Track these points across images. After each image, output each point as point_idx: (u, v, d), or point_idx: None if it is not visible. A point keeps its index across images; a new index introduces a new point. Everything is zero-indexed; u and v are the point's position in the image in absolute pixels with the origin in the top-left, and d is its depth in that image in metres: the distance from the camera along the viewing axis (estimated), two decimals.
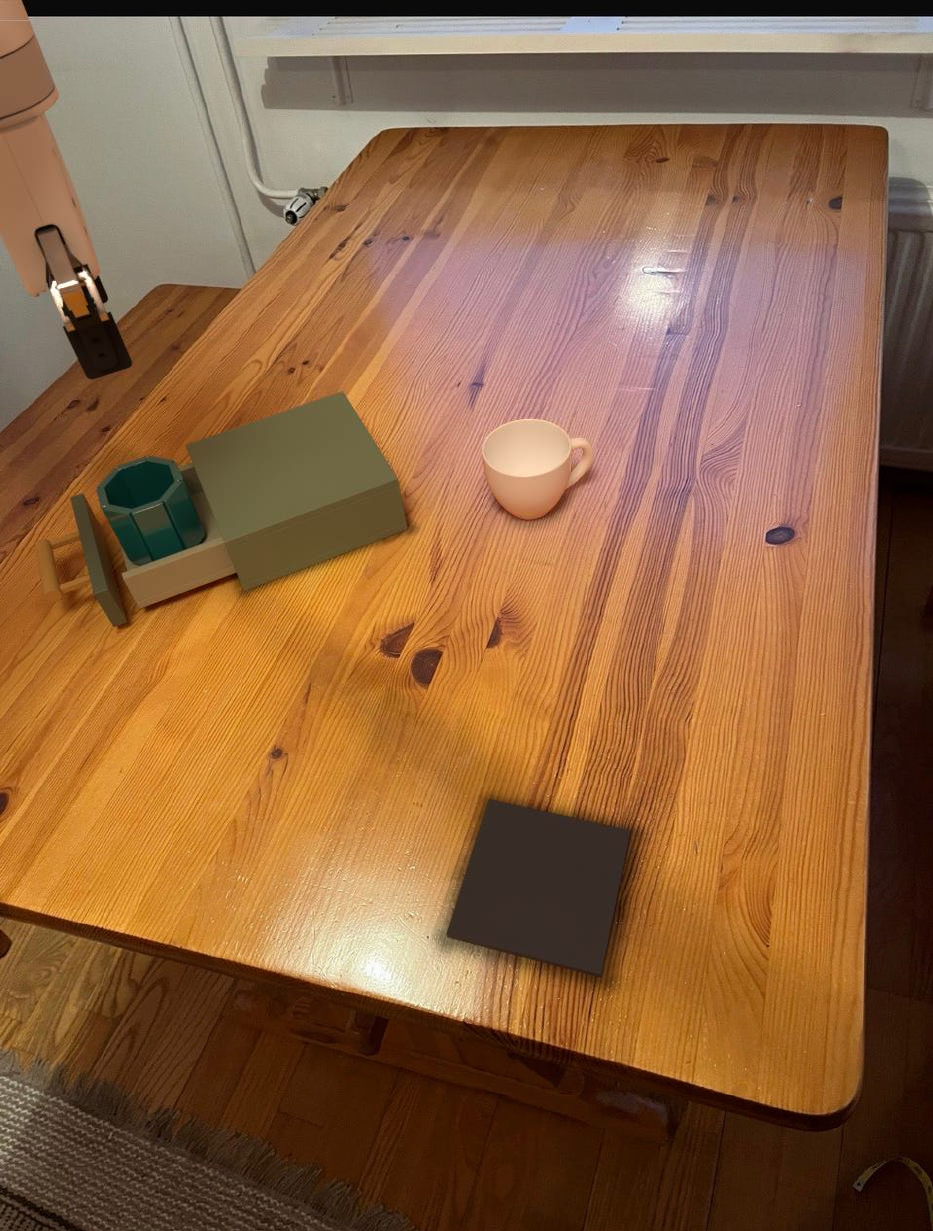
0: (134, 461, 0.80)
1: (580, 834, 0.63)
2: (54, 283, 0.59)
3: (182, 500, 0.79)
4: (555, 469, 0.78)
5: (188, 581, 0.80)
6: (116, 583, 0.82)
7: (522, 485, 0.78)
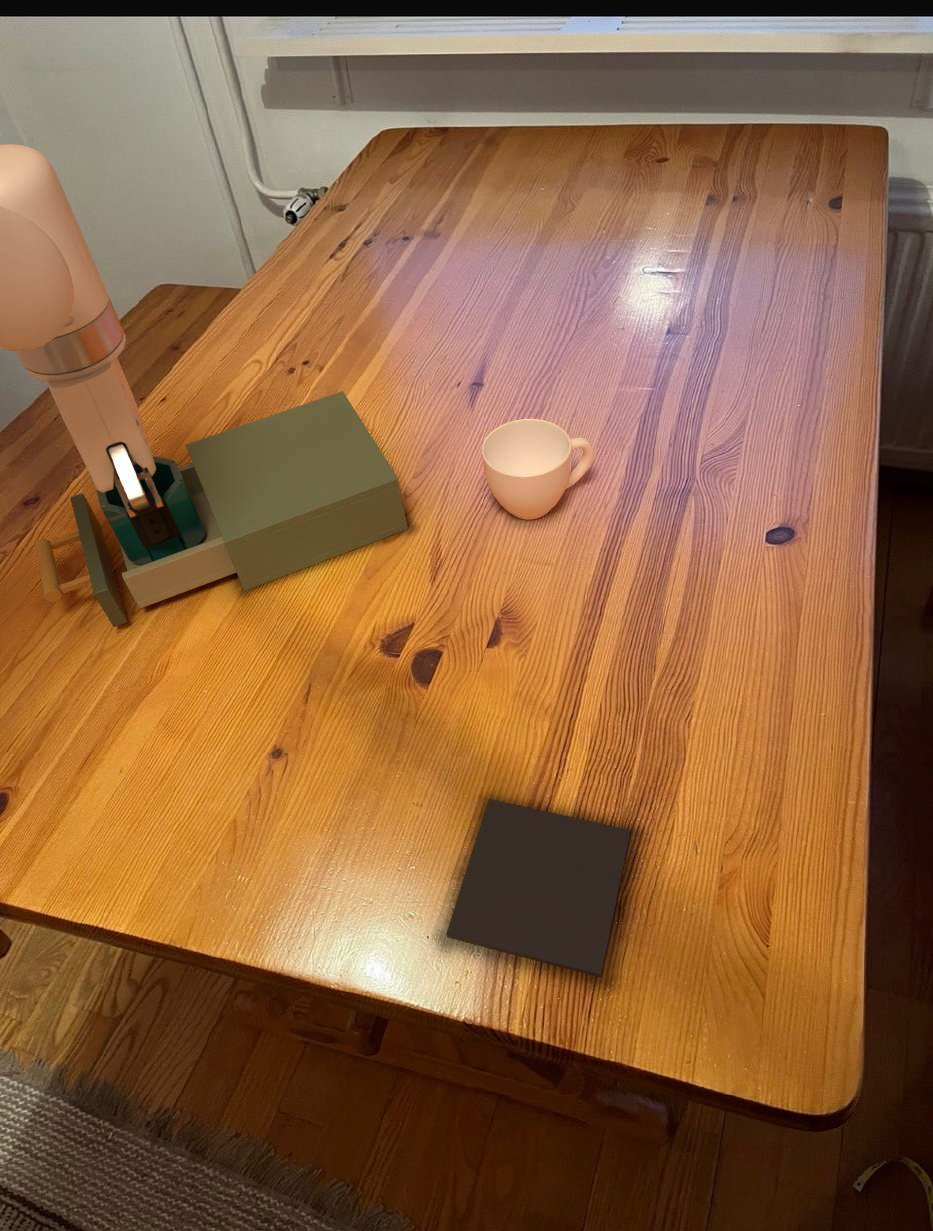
0: None
1: (580, 834, 0.63)
2: (120, 482, 0.73)
3: (182, 500, 0.79)
4: (555, 469, 0.78)
5: (189, 581, 0.80)
6: (116, 583, 0.82)
7: (522, 485, 0.78)
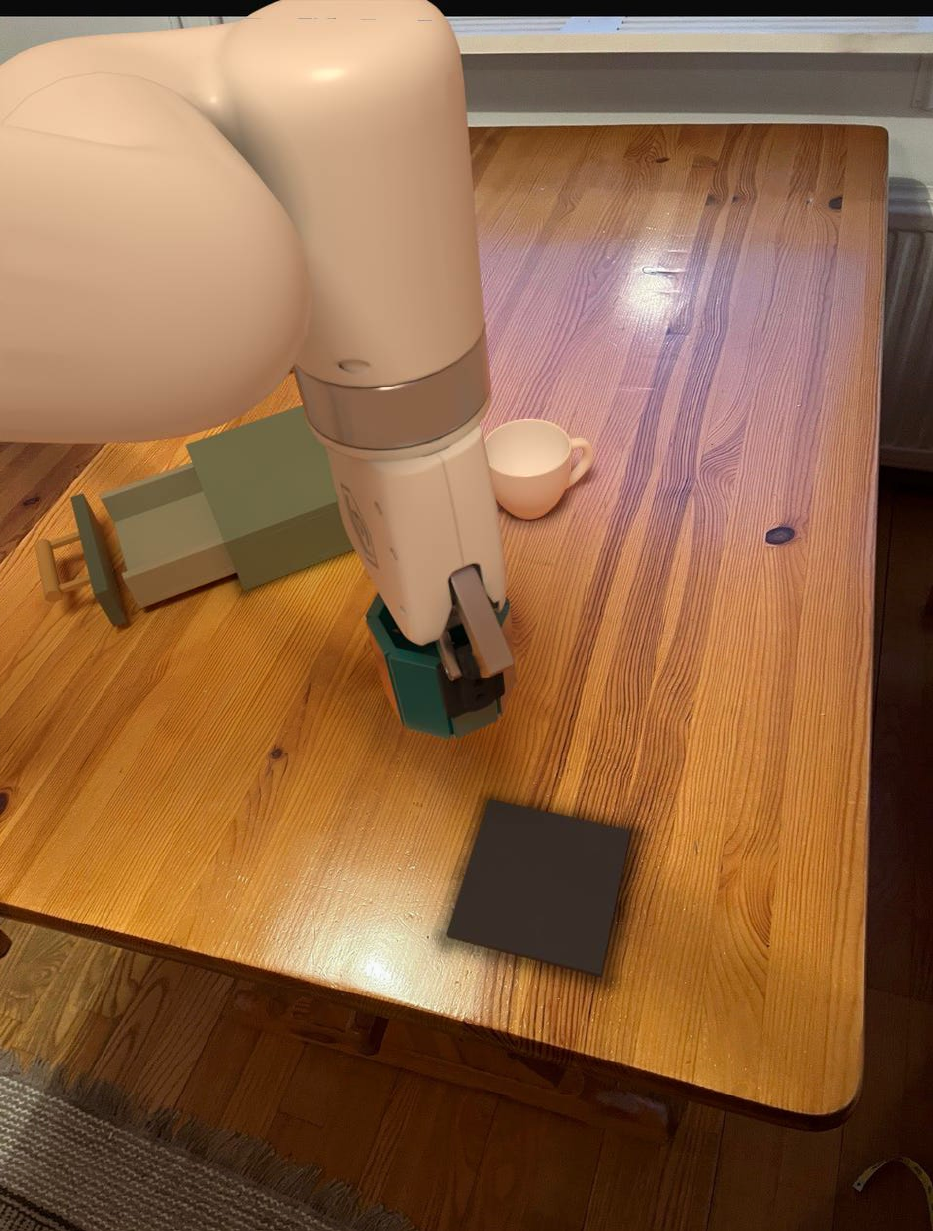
0: None
1: (580, 834, 0.63)
2: None
3: (507, 635, 0.48)
4: (555, 469, 0.78)
5: (188, 581, 0.80)
6: (116, 583, 0.82)
7: (522, 485, 0.78)
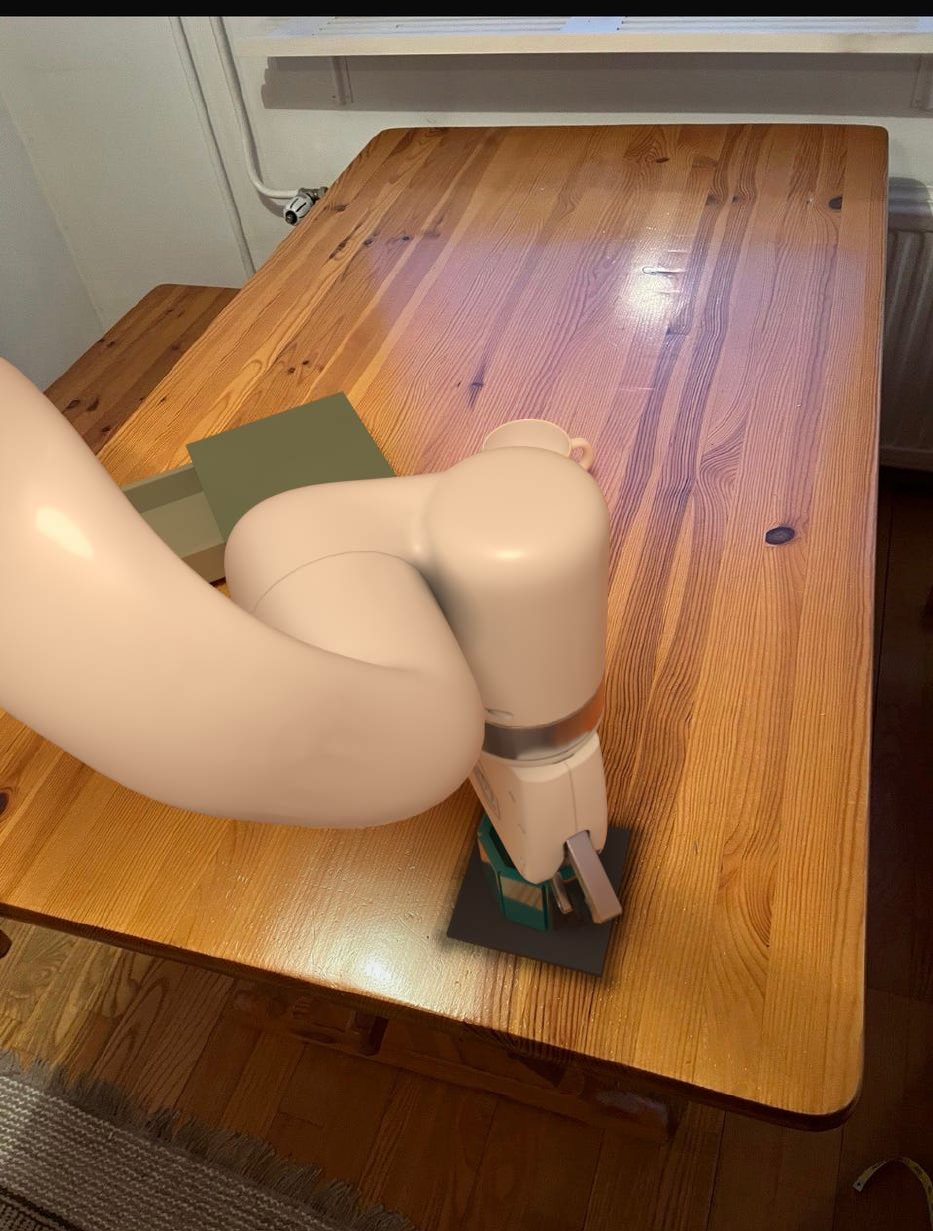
0: None
1: None
2: None
3: None
4: None
5: None
6: None
7: None
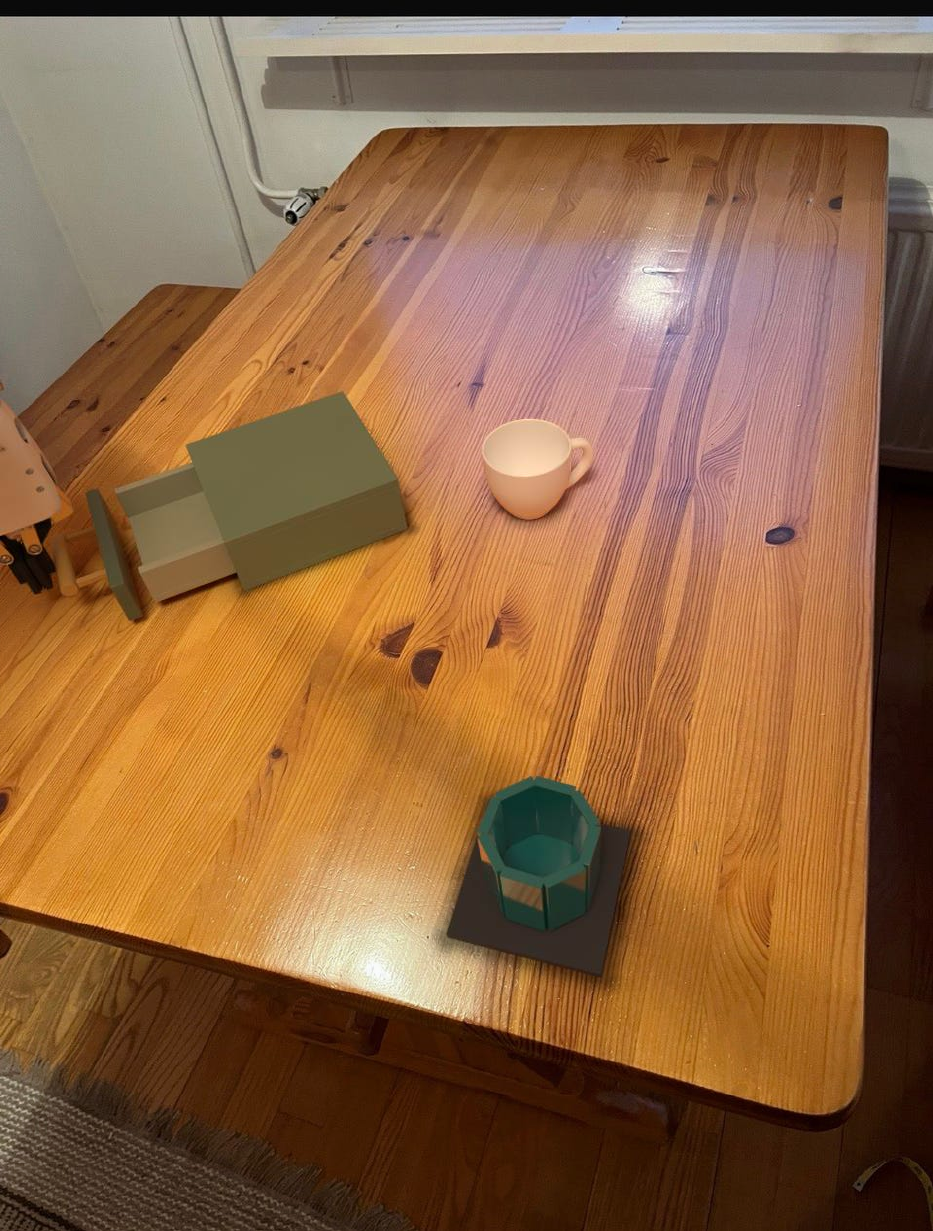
0: (519, 786, 0.58)
1: None
2: None
3: (597, 850, 0.56)
4: (555, 469, 0.78)
5: (204, 575, 0.80)
6: (131, 577, 0.82)
7: (522, 485, 0.78)
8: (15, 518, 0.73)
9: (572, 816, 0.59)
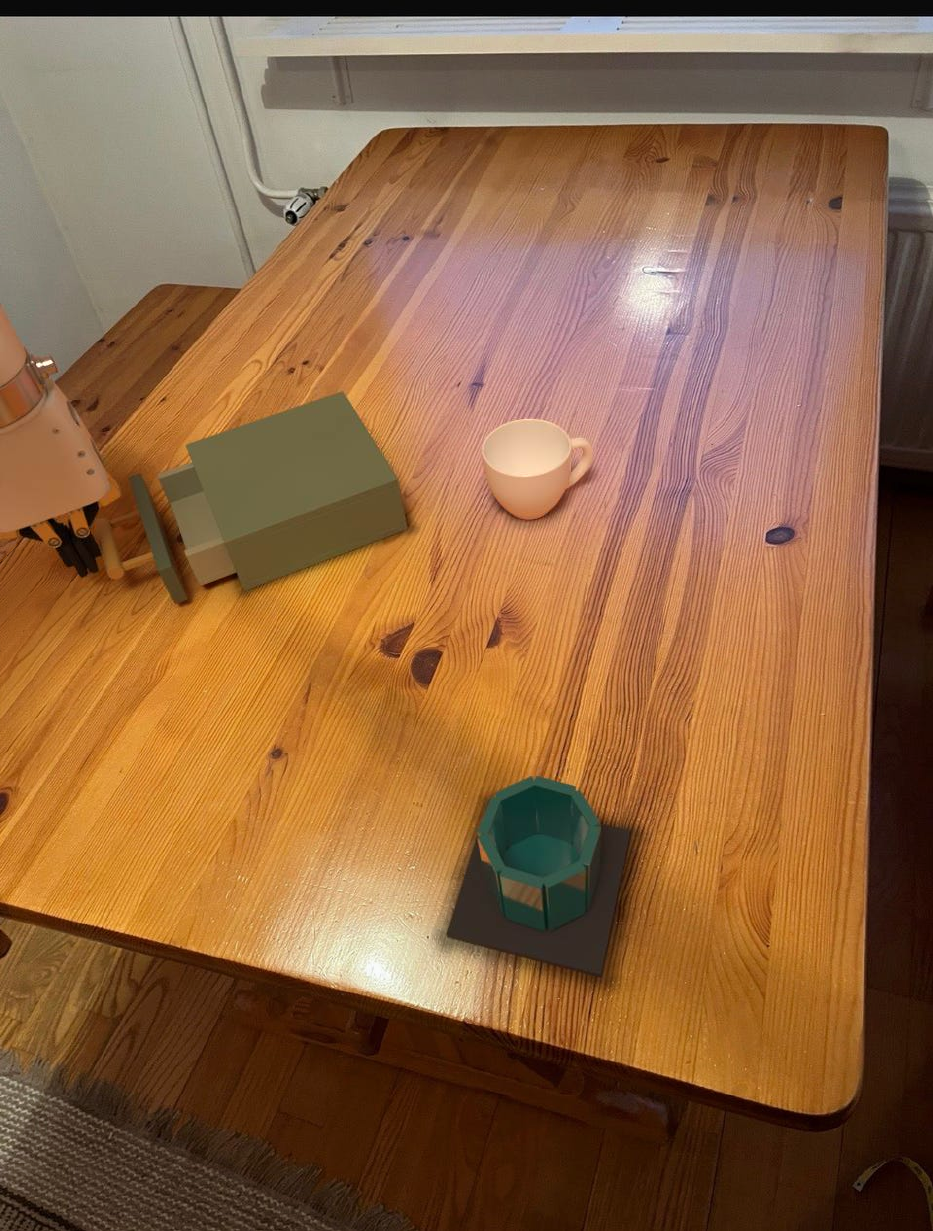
0: (519, 786, 0.58)
1: None
2: None
3: (597, 850, 0.56)
4: (555, 469, 0.78)
5: None
6: None
7: (522, 485, 0.78)
8: (65, 501, 0.74)
9: (572, 816, 0.59)
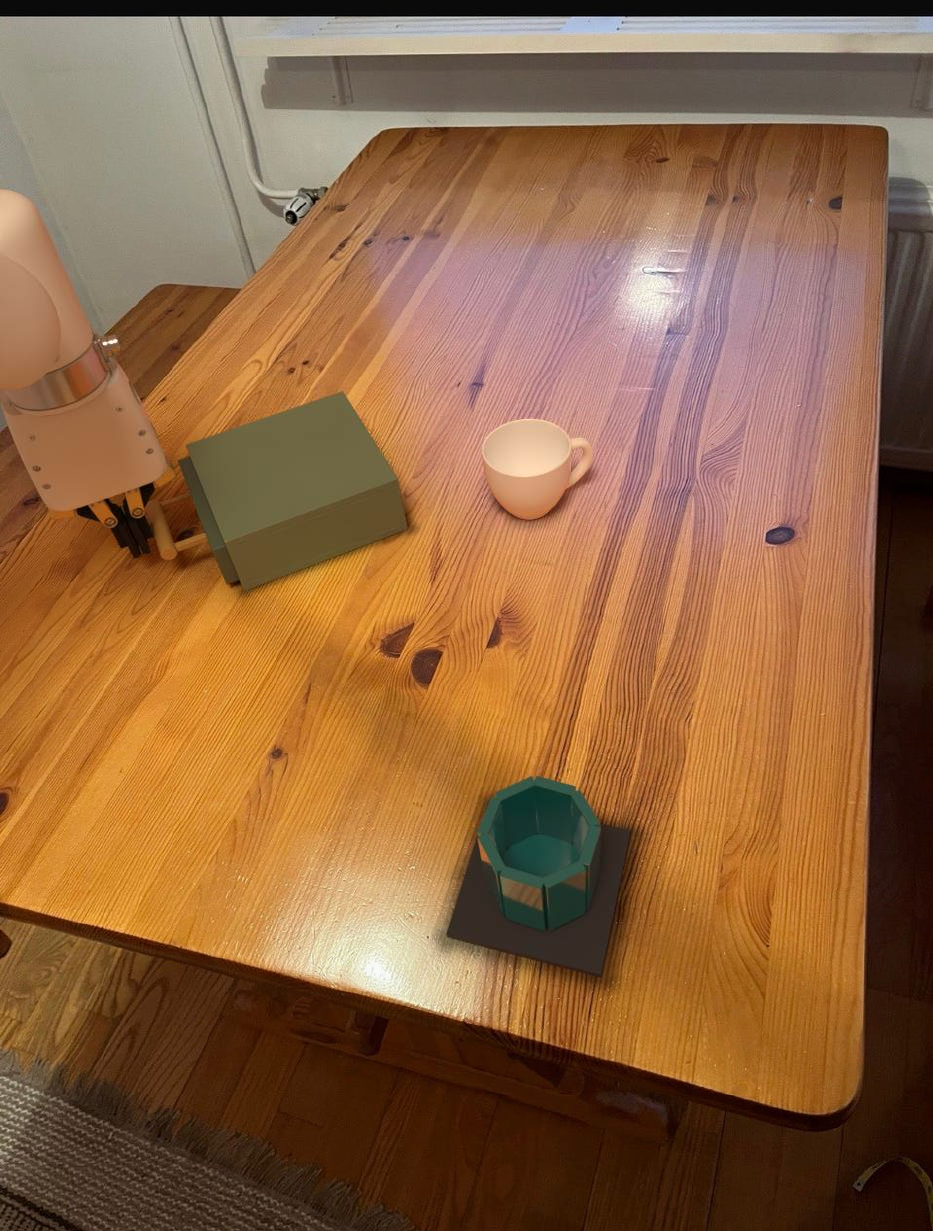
0: (519, 786, 0.58)
1: None
2: None
3: (597, 850, 0.56)
4: (555, 469, 0.78)
5: None
6: None
7: (522, 485, 0.78)
8: (124, 480, 0.75)
9: (572, 816, 0.59)
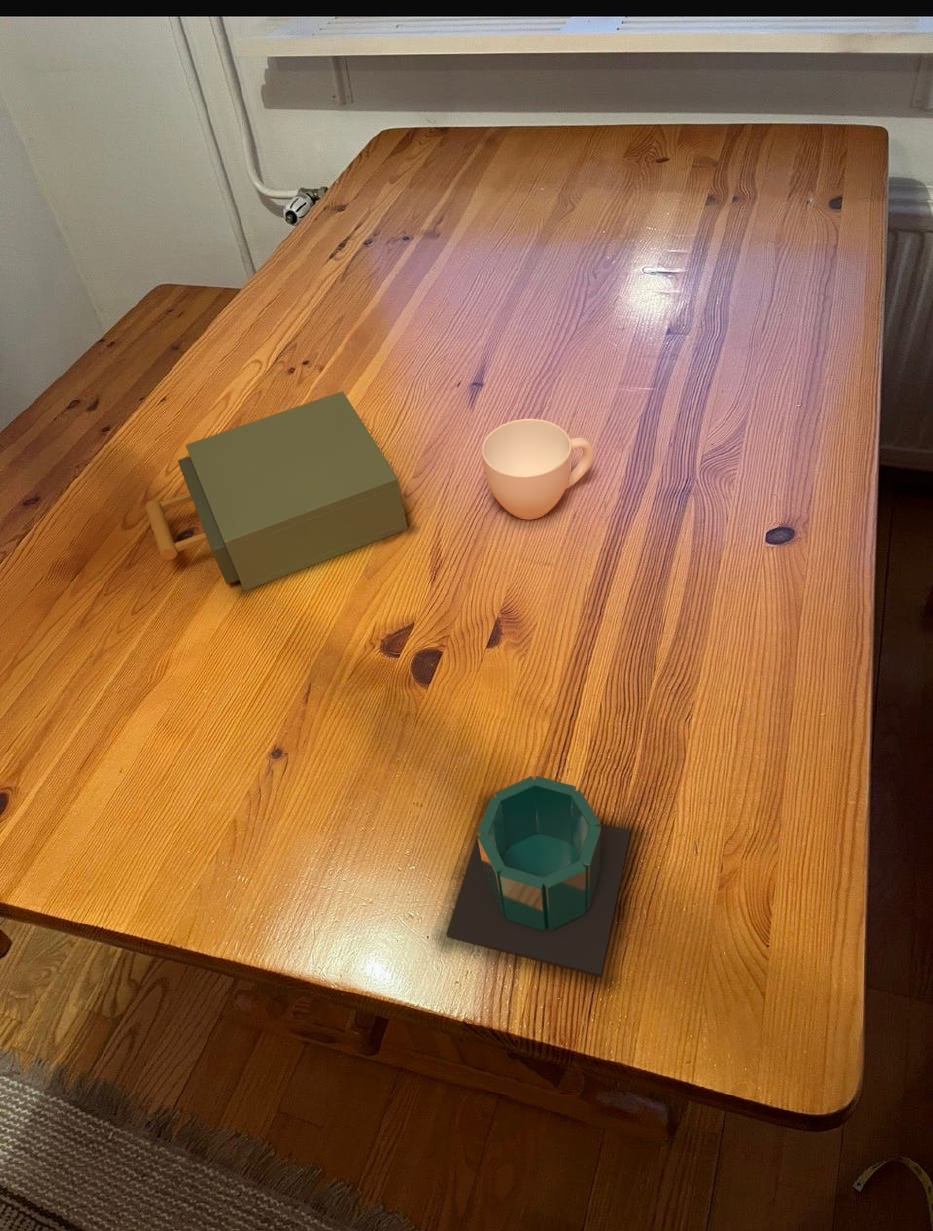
0: (519, 786, 0.58)
1: None
2: None
3: (597, 850, 0.56)
4: (555, 469, 0.78)
5: None
6: None
7: (522, 485, 0.78)
8: None
9: (572, 816, 0.59)
